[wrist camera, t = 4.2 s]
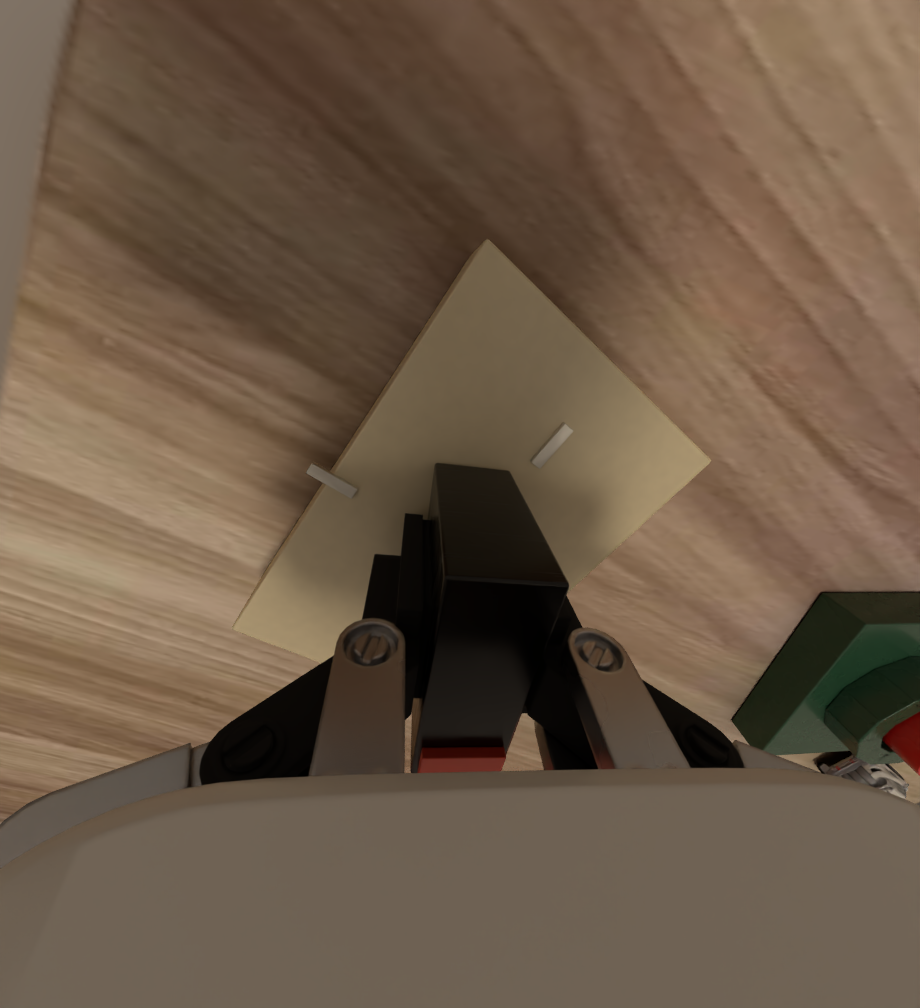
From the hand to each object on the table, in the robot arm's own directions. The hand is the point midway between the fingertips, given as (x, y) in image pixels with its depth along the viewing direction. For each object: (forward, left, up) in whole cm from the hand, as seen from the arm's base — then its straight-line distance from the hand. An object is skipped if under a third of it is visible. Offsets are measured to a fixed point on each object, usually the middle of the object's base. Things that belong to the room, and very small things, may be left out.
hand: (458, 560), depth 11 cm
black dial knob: (0, 0, -1) cm, 1 cm away
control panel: (0, 0, -4) cm, 4 cm away
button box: (+10, +24, -4) cm, 27 cm away
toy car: (+22, +33, -4) cm, 40 cm away
